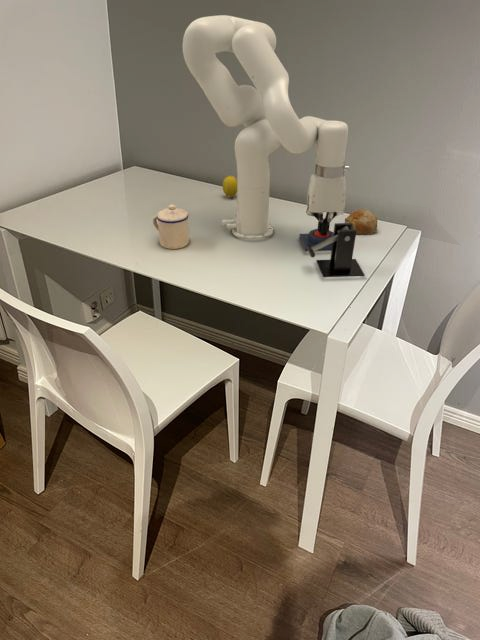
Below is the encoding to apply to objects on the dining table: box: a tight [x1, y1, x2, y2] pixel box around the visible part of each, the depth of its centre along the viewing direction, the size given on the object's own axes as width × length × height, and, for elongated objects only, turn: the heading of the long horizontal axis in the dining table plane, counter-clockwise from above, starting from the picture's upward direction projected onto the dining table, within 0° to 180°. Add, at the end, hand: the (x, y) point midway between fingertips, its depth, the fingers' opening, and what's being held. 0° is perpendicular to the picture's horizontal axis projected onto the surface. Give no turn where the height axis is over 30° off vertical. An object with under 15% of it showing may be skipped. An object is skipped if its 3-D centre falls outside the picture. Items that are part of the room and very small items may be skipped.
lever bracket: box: [315, 222, 365, 278], centre depth 130 cm, size 11×9×13 cm
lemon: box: [222, 174, 237, 198], centre depth 175 cm, size 6×6×8 cm
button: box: [314, 231, 329, 238], centre depth 144 cm, size 4×4×2 cm
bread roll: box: [344, 209, 378, 236], centre depth 154 cm, size 10×10×8 cm
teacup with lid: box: [152, 204, 190, 250], centre depth 144 cm, size 12×9×12 cm
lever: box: [307, 226, 349, 258], centre depth 128 cm, size 12×6×2 cm, turn 94°
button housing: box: [299, 228, 334, 252], centre depth 144 cm, size 11×9×4 cm
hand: (322, 233), depth 143 cm, fingers closed
